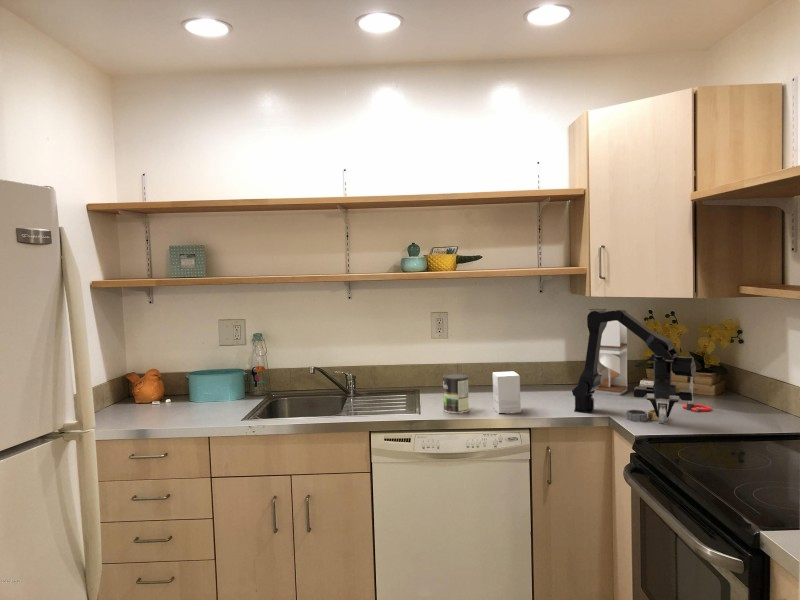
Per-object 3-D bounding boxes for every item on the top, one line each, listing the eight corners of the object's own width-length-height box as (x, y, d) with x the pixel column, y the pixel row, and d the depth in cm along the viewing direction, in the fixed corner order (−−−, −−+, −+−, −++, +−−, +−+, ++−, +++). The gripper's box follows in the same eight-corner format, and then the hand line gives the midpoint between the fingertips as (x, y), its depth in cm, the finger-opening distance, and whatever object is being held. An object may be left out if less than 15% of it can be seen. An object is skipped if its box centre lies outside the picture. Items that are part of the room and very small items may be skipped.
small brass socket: (647, 419, 209) (647, 412, 209) (648, 415, 214) (648, 409, 214) (664, 421, 207) (664, 414, 207) (665, 417, 212) (665, 410, 212)
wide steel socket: (625, 420, 209) (625, 413, 209) (627, 415, 215) (627, 409, 215) (646, 422, 206) (646, 415, 206) (647, 417, 212) (647, 410, 212)
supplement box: (515, 407, 233) (514, 370, 232) (521, 413, 224) (520, 375, 223) (492, 408, 232) (492, 371, 231) (498, 414, 223) (497, 376, 222)
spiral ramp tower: (593, 392, 254) (592, 313, 251) (601, 387, 262) (600, 311, 260) (620, 395, 247) (619, 314, 244) (627, 390, 255) (626, 311, 253)
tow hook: (698, 406, 227) (680, 407, 224) (700, 374, 226) (681, 375, 223) (716, 411, 219) (697, 413, 216) (718, 378, 218) (699, 379, 215)
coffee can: (445, 414, 226) (444, 378, 225) (441, 407, 236) (440, 373, 235) (471, 413, 226) (470, 377, 225) (466, 406, 237) (465, 372, 236)
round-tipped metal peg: (657, 423, 204) (657, 404, 204) (658, 421, 207) (658, 402, 206) (667, 424, 203) (667, 404, 202) (667, 422, 206) (667, 402, 205)
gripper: (632, 376, 201) (632, 420, 202) (692, 380, 192) (692, 425, 193) (634, 370, 211) (635, 412, 212) (691, 373, 202) (691, 417, 203)
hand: (662, 417), depth 205 cm, fingers closed on round-tipped metal peg, 3 cm apart
